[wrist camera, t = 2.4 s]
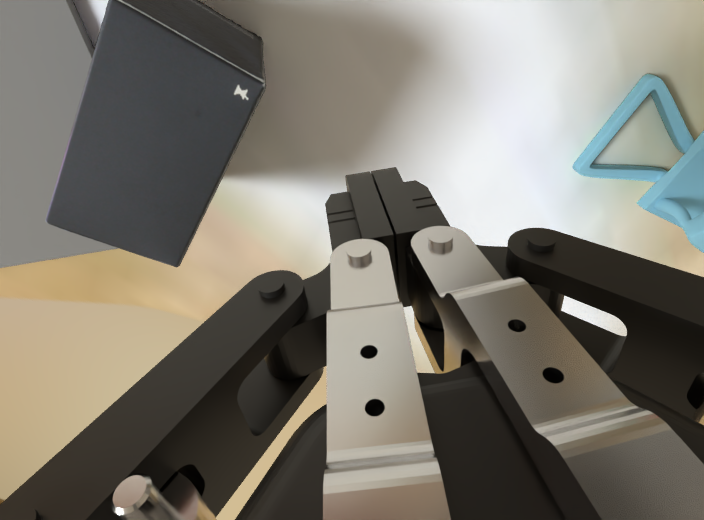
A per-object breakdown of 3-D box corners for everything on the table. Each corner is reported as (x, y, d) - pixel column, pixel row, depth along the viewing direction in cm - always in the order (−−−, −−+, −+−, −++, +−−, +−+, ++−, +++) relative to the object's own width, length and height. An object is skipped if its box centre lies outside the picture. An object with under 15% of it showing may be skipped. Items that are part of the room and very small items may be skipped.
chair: (639, 202, 36) (766, 295, 27) (569, 167, 34) (683, 257, 24) (717, 119, 33) (896, 192, 23) (645, 71, 30) (817, 132, 20)
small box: (153, -30, 23) (102, -19, 15) (266, 39, 26) (276, 81, 18) (98, 141, 27) (34, 225, 19) (200, 184, 30) (183, 273, 22)
